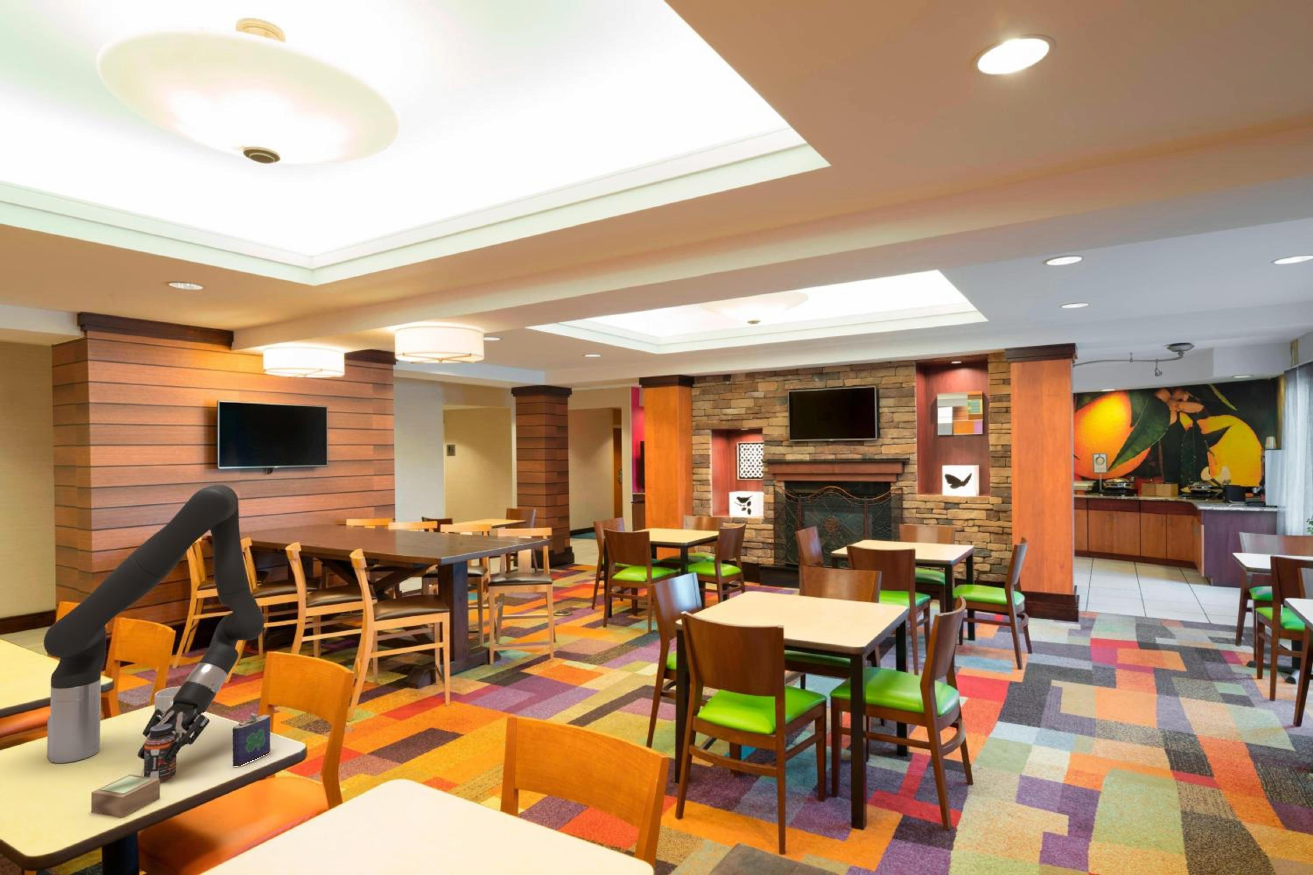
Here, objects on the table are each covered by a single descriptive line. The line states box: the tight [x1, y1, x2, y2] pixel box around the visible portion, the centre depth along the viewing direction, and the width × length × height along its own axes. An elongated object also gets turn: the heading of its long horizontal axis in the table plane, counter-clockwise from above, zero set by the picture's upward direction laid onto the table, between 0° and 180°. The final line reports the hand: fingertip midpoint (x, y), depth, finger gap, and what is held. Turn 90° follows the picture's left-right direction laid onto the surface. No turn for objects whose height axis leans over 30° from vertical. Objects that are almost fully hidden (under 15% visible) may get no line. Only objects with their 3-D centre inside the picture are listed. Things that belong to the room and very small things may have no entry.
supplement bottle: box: [143, 724, 178, 783], centre depth 157 cm, size 6×6×11 cm
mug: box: [154, 685, 182, 734], centre depth 179 cm, size 12×8×10 cm, turn 34°
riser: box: [90, 773, 161, 819], centre depth 145 cm, size 8×8×4 cm
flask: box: [231, 712, 271, 767], centre depth 166 cm, size 9×3×11 cm, turn 157°
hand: (153, 759), depth 155 cm, fingers closed on supplement bottle, 6 cm apart
